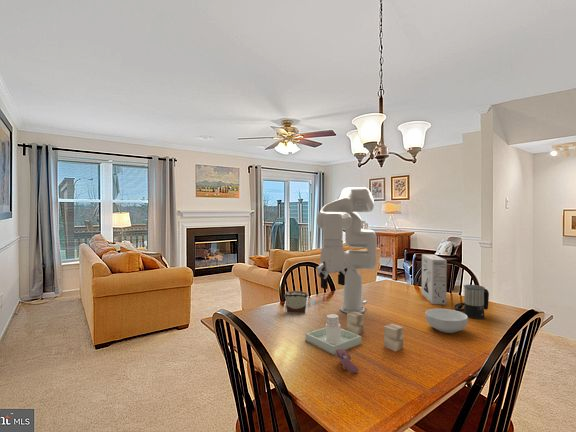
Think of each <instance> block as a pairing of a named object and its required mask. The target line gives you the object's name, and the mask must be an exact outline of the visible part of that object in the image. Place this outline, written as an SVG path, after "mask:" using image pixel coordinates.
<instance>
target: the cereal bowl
mask: <svg viewBox="0 0 576 432" xmlns="http://www.w3.org/2000/svg"><path fill="white" fill-rule="evenodd" d="M425 320H426V322H427V324H428V325H429V326H430V327H432V328H434V329H435V330H437V331H439V332H441V333H445V334H454V333H457V332H460V331H462V330H465V328H467V325H468V324H469V323H468V322H469V317H467V315H466V314H464V312H463V311H459V310H456V309H450V308H429V309H427V310H426V311H425Z"/></svg>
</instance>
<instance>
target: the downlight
mask: <svg viewBox="0 0 576 432" xmlns="http://www.w3.org/2000/svg"><path fill="white" fill-rule="evenodd" d="M325 328H326V338H325V342H327V343H330V344H338V343H341V342H342V341H343V340H342V338H341V330H340V328H341V324H340V321H339V315H338V314H335V313H334V314H333V313H331V314H327V315H326V323H325ZM324 331H325V330H324ZM342 336H343V335H342ZM323 337H324V334H323Z"/></svg>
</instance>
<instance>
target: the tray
mask: <svg viewBox="0 0 576 432" xmlns="http://www.w3.org/2000/svg"><path fill="white" fill-rule="evenodd" d="M324 330H325V331H324ZM340 330H341V338H342V340H343V341H342V342H341V343H338V344H330V343H327V342H325V338H326V328H325V327H322V328H319V329H315V330H313V331H309V332H305V334H304V335H305V336H304V338H305V342H307V343H308V344H310V345H313V346H314V347H317V348H319V349H321V350H323V351H325V352H327V353H328V354H331V355H333V356H335V354H336V351H335V350H337V349H338V348H342V349H343V350H345V351H347V350H349V349H352V348H354V347H357V346H359V345H361V344H362V335H360V334H359V335H357V334H354V333H352V332H349V331H347V329H343V328H342V327H340ZM323 334H324V337H323ZM342 335H343V336H342Z"/></svg>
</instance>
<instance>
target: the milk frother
mask: <svg viewBox="0 0 576 432" xmlns="http://www.w3.org/2000/svg"><path fill="white" fill-rule="evenodd" d="M463 287H464V288H463V289H464V292H463V295H464V300H463V302H459V303H456V304H455V305H454V310H455V311H459V312H463V313H464V314H466V315H467V317H468V319H473V320H474V319H476V320H483V319H485V311H486V310H488V309H489V298H490V292H489V290H488V289H487V288H485V287H484V285H483V286H482V285H477V284H464V285H463ZM463 307H464V308H463Z"/></svg>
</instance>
